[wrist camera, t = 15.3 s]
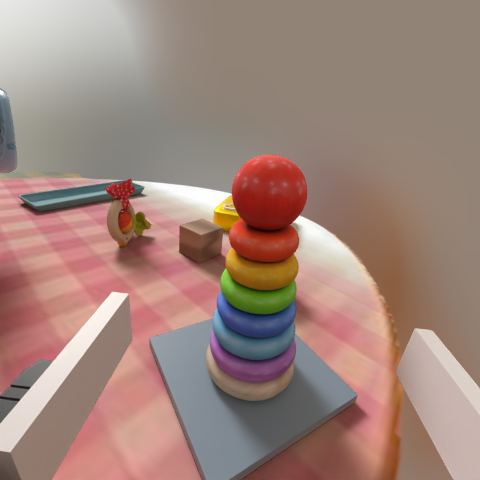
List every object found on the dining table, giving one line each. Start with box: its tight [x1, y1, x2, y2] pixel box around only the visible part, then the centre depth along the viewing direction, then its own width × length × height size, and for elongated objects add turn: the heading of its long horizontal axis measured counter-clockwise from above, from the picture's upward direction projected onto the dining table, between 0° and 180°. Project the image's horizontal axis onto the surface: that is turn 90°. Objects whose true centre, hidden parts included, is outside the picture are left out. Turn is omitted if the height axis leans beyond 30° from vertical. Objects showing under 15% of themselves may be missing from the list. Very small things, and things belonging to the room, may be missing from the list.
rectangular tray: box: [18, 180, 144, 212], centre depth 68 cm, size 26×9×2 cm, turn 145°
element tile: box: [213, 195, 242, 232], centre depth 63 cm, size 15×15×5 cm
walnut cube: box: [179, 219, 223, 263], centre depth 46 cm, size 5×5×5 cm
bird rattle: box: [105, 179, 151, 246], centre depth 47 cm, size 6×11×9 cm
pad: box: [149, 319, 358, 480], centre depth 26 cm, size 14×14×1 cm
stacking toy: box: [206, 155, 307, 401], centre depth 22 cm, size 8×8×19 cm
